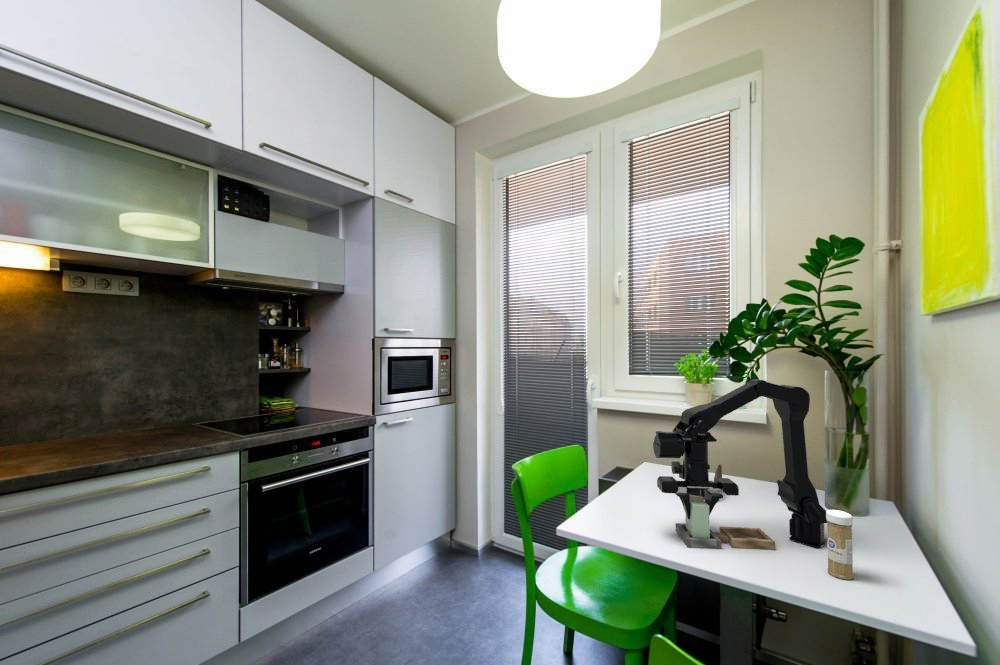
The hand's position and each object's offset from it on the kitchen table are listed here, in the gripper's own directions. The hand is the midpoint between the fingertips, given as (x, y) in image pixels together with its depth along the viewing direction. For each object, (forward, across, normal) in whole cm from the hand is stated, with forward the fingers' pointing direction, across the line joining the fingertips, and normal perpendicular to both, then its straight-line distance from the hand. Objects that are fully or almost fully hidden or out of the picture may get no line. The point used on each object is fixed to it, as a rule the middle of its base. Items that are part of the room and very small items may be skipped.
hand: (697, 518), depth 112 cm
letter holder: (+6, -15, -40) cm, 43 cm away
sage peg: (+4, 0, 0) cm, 4 cm away
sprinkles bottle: (+6, -25, +15) cm, 30 cm away
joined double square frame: (+5, -6, 0) cm, 8 cm away
